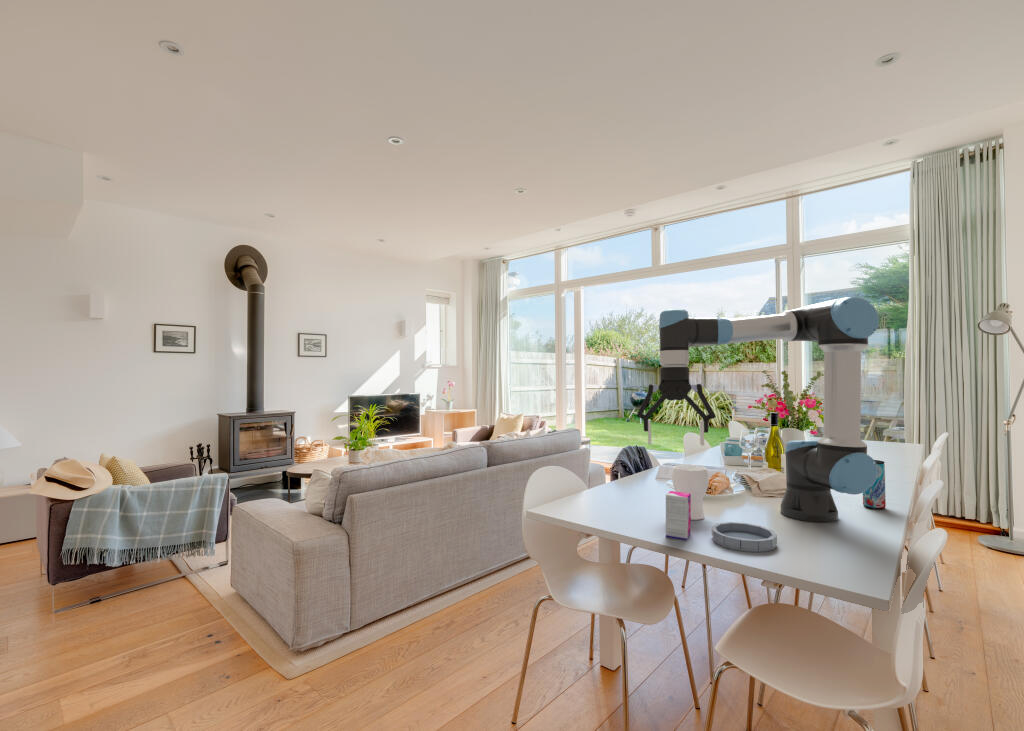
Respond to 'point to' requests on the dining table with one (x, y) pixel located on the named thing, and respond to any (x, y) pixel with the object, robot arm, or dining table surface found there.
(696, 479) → the cup
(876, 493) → the beverage can
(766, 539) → the dish
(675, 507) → the supplement box
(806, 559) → the dining table surface
